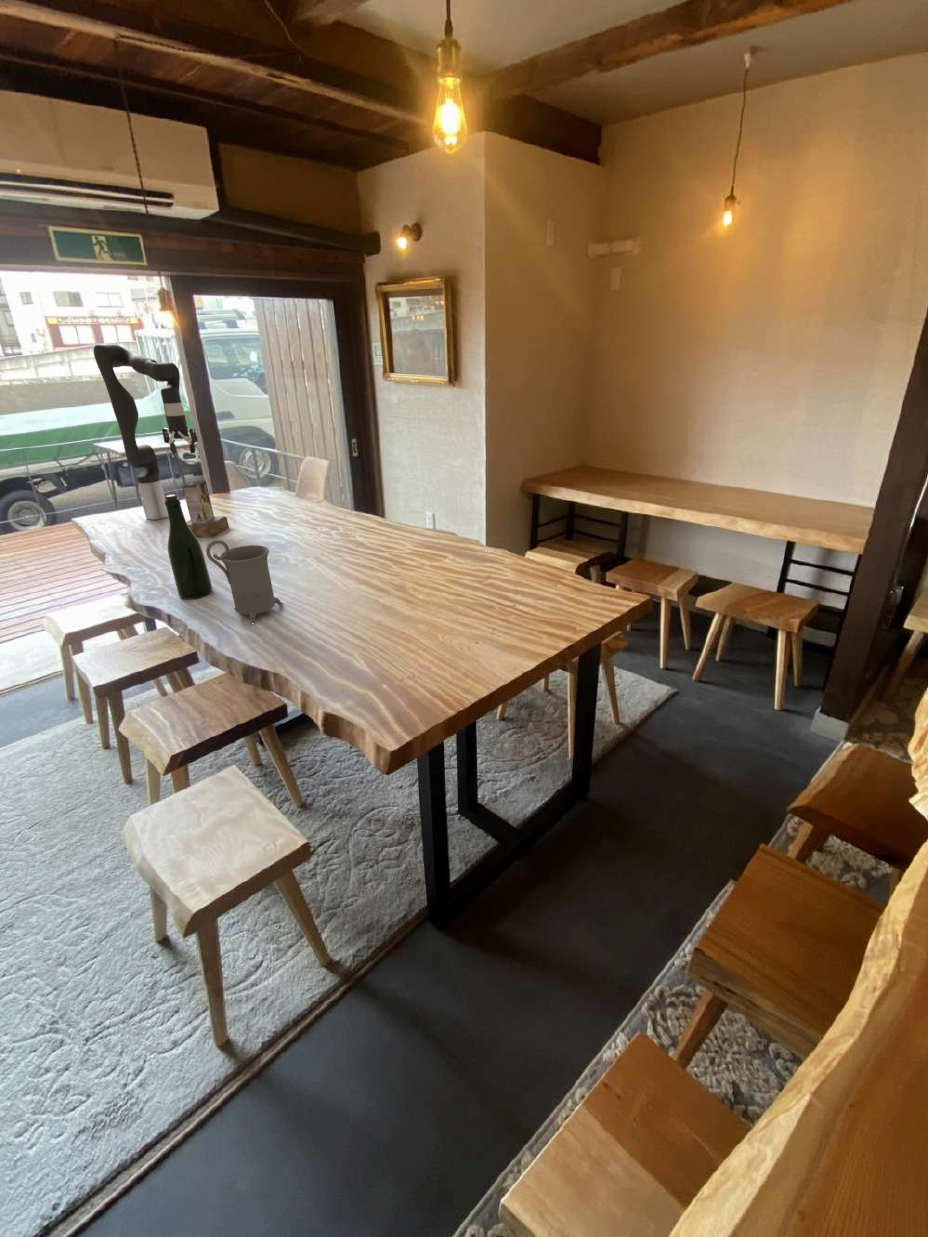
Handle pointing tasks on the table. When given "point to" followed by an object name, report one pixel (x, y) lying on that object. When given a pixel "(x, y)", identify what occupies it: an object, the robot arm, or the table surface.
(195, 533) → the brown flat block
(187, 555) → the beer bottle
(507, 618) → the table surface
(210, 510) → the coffee box
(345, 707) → the table surface
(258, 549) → the mug
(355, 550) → the table surface
